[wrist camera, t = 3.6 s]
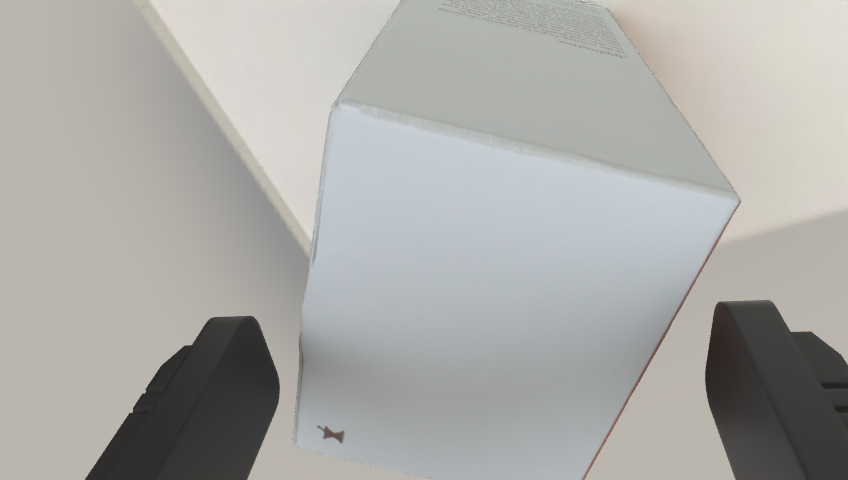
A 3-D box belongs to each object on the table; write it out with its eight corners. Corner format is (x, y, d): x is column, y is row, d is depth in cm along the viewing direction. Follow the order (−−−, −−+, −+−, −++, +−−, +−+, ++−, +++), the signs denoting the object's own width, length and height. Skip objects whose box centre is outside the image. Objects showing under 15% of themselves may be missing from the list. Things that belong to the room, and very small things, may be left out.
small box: (540, 213, 24) (570, 517, 13) (383, 177, 24) (282, 454, 13) (615, 2, 19) (756, 198, 8) (422, -42, 19) (316, 98, 8)
